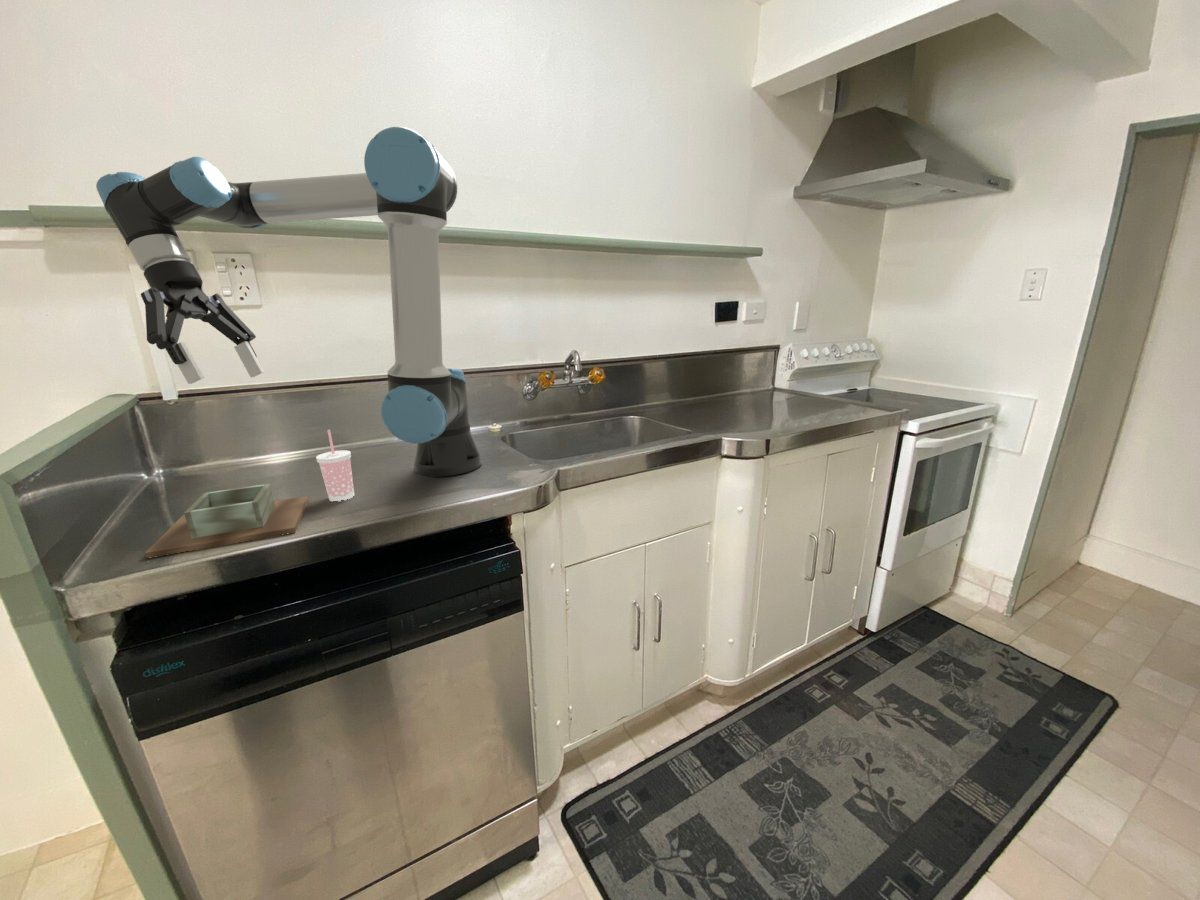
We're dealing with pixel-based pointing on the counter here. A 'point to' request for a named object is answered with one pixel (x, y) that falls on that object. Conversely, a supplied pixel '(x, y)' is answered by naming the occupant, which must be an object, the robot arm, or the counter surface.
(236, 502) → the cup holder
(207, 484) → the counter surface
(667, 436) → the counter surface
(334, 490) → the beverage cup
